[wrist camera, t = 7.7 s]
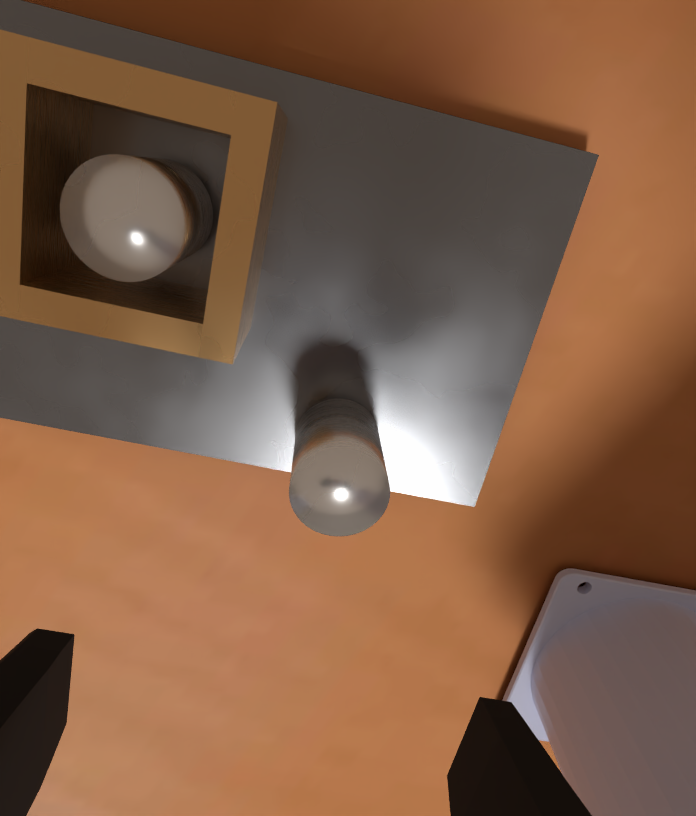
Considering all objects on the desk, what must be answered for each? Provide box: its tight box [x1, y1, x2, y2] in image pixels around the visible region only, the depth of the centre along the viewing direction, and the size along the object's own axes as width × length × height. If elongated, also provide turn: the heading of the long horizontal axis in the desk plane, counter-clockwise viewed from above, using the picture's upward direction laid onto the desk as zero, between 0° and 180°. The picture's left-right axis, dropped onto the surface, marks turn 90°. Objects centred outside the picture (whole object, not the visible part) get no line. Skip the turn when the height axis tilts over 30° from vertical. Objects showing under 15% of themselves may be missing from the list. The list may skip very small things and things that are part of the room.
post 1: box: [60, 154, 213, 282], centre depth 14 cm, size 3×3×4 cm
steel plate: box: [0, 0, 599, 507], centre depth 17 cm, size 16×11×1 cm
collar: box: [0, 30, 288, 364], centre depth 14 cm, size 6×6×4 cm
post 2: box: [289, 398, 390, 536], centre depth 17 cm, size 3×3×4 cm
